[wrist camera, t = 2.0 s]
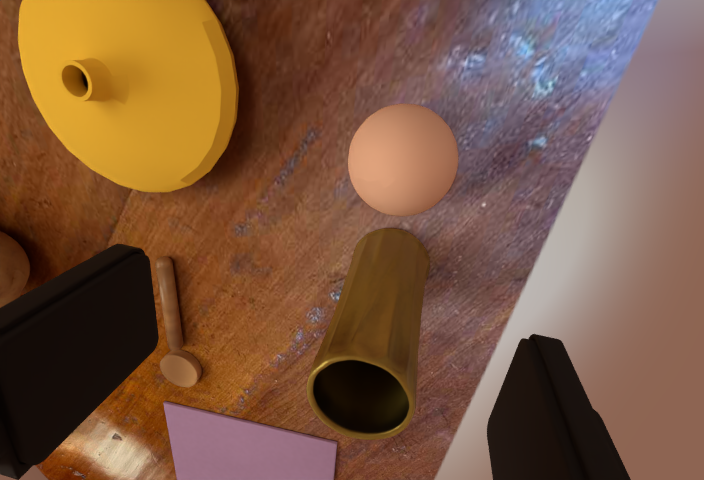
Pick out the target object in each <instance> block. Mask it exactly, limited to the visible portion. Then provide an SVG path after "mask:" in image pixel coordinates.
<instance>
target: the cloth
mask: <svg viewBox="0 0 704 480" xmlns="http://www.w3.org/2000/svg"><path fill="white" fill-rule="evenodd" d="M164 409H165V414H166V420H167V426H168V431H169V437H170V442H171V448H172V454H173V459H174V465H175V471H176V476H177V480H334V473H335V462H336V451H337V442H336V441H332V440H328V439H323V438H319V437H315V436H311V435H307V434H302V433H298V432H294V431H290V430H285V429H281V428H277V427H273V426H268V425H264V424H260V423H256V422H251V421H247V420H243V419H239V418H235V417H230V416H226V415H222V414H218V413H213V412H209V411H205V410H201V409H196V408H192V407H188V406H184V405H179V404H175V403H171V402H167V401H165V402H164Z"/></svg>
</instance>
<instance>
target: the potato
mask: <svg viewBox="0 0 704 480" xmlns="http://www.w3.org/2000/svg"><path fill="white" fill-rule="evenodd" d="M29 274H30V263H29V260H28V257H27V255H26V253H25V251H24V250H23V248H22V247H21V246H20V245H19V244H18V243H17V242H16V241H15V240H14V239H13V238H11V237H10V236H8V235H7V234H5V233H3V232H2V231H0V308H1V307H2V306H4V305H6V304H8V303H10V302H12V301H13V300H15V299H17V298H19V297H20V295H21V292H22V290H23V289H24V287H25V285H26V283H27V280H28V278H29Z"/></svg>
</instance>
